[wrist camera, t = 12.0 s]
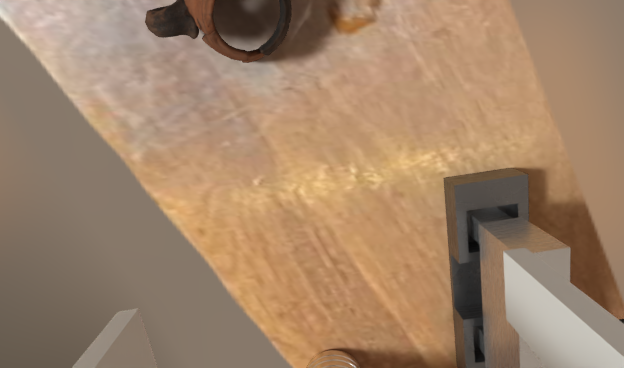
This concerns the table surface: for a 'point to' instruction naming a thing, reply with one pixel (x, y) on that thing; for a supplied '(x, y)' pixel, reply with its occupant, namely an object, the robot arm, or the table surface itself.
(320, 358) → the water bottle
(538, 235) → the grey notched block
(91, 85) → the table surface
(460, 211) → the rail
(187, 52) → the table surface
